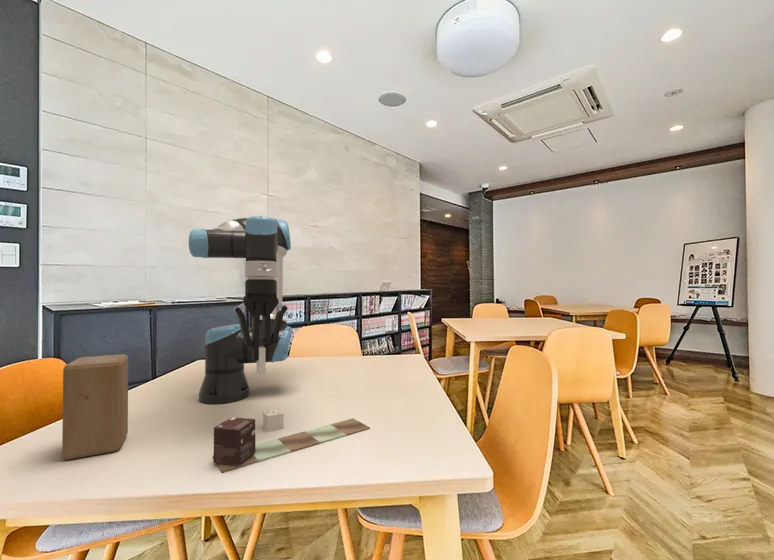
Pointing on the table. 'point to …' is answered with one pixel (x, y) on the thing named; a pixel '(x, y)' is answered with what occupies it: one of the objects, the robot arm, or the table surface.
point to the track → (299, 442)
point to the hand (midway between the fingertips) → (260, 373)
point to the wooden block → (94, 405)
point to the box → (234, 441)
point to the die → (273, 420)
